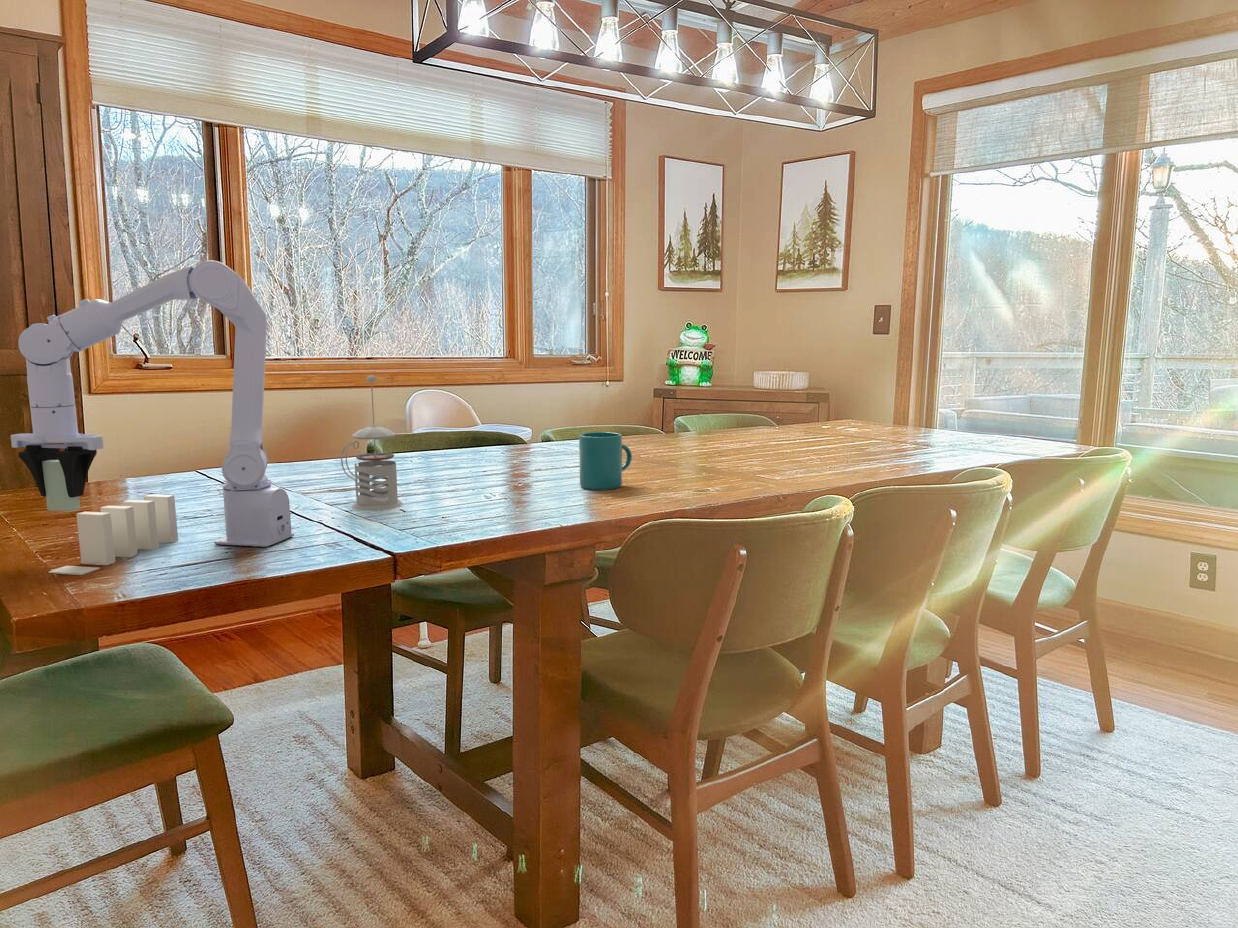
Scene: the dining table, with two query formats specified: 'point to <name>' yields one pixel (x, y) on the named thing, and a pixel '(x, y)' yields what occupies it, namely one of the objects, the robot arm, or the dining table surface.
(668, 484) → the dining table surface
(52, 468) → the domino
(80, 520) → the domino
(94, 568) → the pad
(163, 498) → the domino
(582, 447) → the cup
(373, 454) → the french press
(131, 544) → the domino
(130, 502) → the domino
